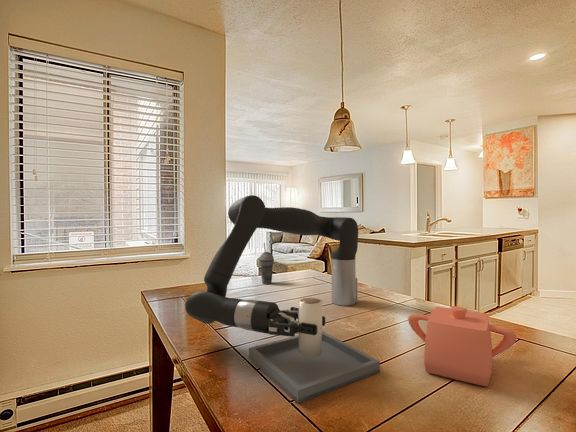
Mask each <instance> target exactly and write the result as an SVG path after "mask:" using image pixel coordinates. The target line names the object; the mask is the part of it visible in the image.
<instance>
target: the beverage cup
mask: <svg viewBox="0 0 576 432" xmlns="http://www.w3.org/2000/svg"><path fill="white" fill-rule="evenodd" d="M263 247H264V251H263V252H261V254H260V255H259V260H258V261H259V265H260V273H261V276H260V277H261V282H262V283H261V284H262V285H272V280H273V271H274V270H273V269H274V267H273V266H274V263H275V259H274V258H275V257H274V255H273V254H272V253H271V252H269V251H266V243H265V242H263Z"/></svg>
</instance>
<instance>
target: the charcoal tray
mask: <svg viewBox="0 0 576 432" xmlns="http://www.w3.org/2000/svg"><path fill="white" fill-rule="evenodd" d="M248 359H249V360H251V362H253V363H254V364H255V365H256V366H257V367H258V368H259V369H260V370H261V371H262V372H263V373H264V374H266V376H267V377H268V378H269V379H270V380H272V381H273V382H274V383H275V384H276V385H277V386H278V387H279V388H280V389H282V390H283V391H284V392H285V393H286V394H287V395H288V396H289V397H290V398H291V399H292V400H293V401H294V402H295V403H297V404H298V405H299V404H300V403H304V402H306V401H309V400H311V399H314V398H316V397H319V396H322V395H324V394H326V393H327V394H328V393H329V392H332V391H334V390H337V389H339V388H343V387H345V386H347V385H350V384H353V383H356V382H357V381H361V380H363V379H366V378H368V377H371V376H373V375H377V374H378V373H381V361H380V360H378V359H377V358H375V357H373V356H371V355H369V354H367V353H365V352H363V351H361V350H359V349H357V348H355V347H354V346H352V345H350V344H348V343H346V342H344V341H343V340H340V339H339V338H337V337H335V336H332V335H330V334H329V333H327V332H325V331H323V330H322V354H321V355H319V356H316V357H306V356H303V355H301V354H300V353H299V334H297V335H295V336H293V337H291V336H289V337H286V338H283V339H278V340H275V341H270V342H267V343H263V344H259V345H255V346H250V347H248Z"/></svg>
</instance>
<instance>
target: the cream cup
mask: <svg viewBox="0 0 576 432" xmlns="http://www.w3.org/2000/svg"><path fill="white" fill-rule="evenodd" d="M298 308H299V322H300V324H301V323H302V322H303V323H309V324H316V325H317V334H316V335H310V334H304V333H301V332H300V334H298V335H299V353H300V354H301V355H303V356H306V357H316V356H319V355H321V354H322V331H323V326H322V316H323V300H322V299H320V298H318V297H317V298H316V297H303V298H300V299H299V300H298Z"/></svg>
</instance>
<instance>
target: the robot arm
mask: <svg viewBox="0 0 576 432" xmlns="http://www.w3.org/2000/svg"><path fill="white" fill-rule="evenodd" d="M227 216H228V218H229V220H230V222H231V223H232V224H233V225H234V226H233V227H232V229H231V231H230V233H229V235H228V236H227V237H226V239H225V240H224V242H223V243H222V244H221V246H220V247H219V248H218V250H217V251H216V253H215V255H214V256H213V258H212V259H211V262H210V264H209V266H208V268H207V270H206V273H205V275H204V278H203V281H204V284H205V285H206V291H204V290H203V291H195V292H193V293H192V294H190V295H189V296H188V297H187V298H186V301H185V304H184V308H185V311H186V313H187V314H188V316H189V317H191V318H193V319H195V320H197V321H199V322H201V323H202V324H207V325H210V324H213V323H215V322H218V323H220V324H221V325H224V326H227V327H232V328H239V329H242V330H245V331H249V332H256V333H263V334H266V335H269V336H270V335H272V336H282V337H294V336H296V335H299V334H300V332H301V333H304V334H310V335H316V334H317V325H316V324H309V323H303V322H302V323H301V324H300V322H299V307H296V306H295V307H294V306H291V307H289V309H282V310H280V308H279V306H278V304H277V303H276V302H272V301H265V300H257V299H242V298H234V297H227V291H228V290H227V289H228V285H229V284H230V281H231V279H232V277H233V274H234V272H235V270H236V268H237V265H238V263H239V260H241V259H240V258H241V257H242V255H243V253H244V250H245V249H246V247H247V245H248V243H249V241H250V240H251V238H252V237H253V235H254V233H255V232H256V230H257V229H264V230H265V229H266V230H267V229H268V230H272V231H276V232H281V233H282V232H283V233H286V234H292V235H296V236H297V235H299V236H321V237H325V238H327V239H331V240H334V241H338V242H339V245H338V247H337V248H336V249H334V250H332V251H331V303H332V304H334V305H336V306H343V307H344V306H352V305H355V304H356V303H358V277H356V272H357V271H356V254H357V251H358V248H359V247H358V245H359V243H358V242H359V225H358V222H357V221H356V219H354V218H353V217H345V216H344V217H341V216H338V217H337V216H335V217H334V216H333V217H329V216H328V217H327V216H321V215H318V214H316V213H315V212H312V211H311V210H308V209H304V208H299V207H294V206H293V207H291V206H290V207H288V206H287V207H284V206H283V207H281V206H280V207H266V205H265V202H264V200H262V198H261V197H259V196H257V195H255V194H254V195H253V194H251V195H246V196H244V197H243V196H242V197H241V198H239V199H237V200H235V201H234V202H233V203H232V204H231V205H230V206H229V208H228V210H227ZM325 325H326V316H324V315H322V327H325Z"/></svg>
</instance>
